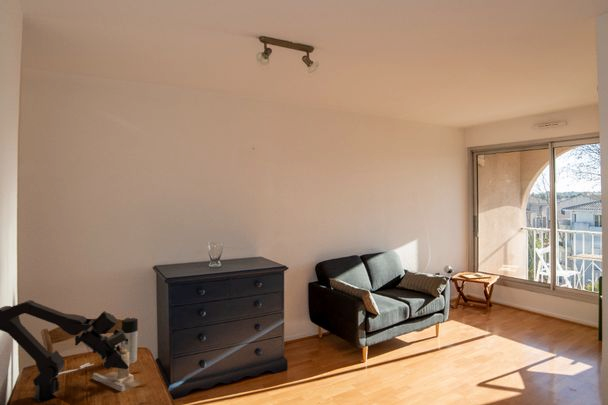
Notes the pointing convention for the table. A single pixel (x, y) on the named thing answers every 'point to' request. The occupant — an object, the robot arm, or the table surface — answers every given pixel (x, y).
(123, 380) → the white tall rounded post
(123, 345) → the spray can
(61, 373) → the pliers
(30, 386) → the table surface
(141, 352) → the table surface
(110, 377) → the board
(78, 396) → the table surface
